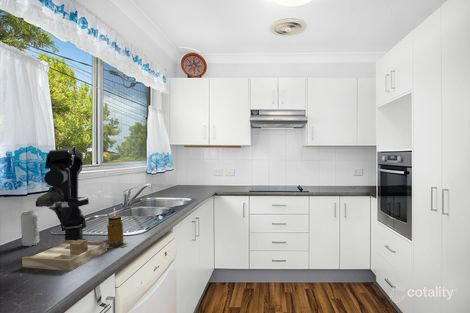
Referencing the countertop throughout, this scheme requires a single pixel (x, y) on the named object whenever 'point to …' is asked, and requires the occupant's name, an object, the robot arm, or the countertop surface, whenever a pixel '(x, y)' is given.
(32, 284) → the countertop surface
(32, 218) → the energy drink can
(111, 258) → the countertop surface
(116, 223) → the condiment
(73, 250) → the walnut block
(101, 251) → the box
